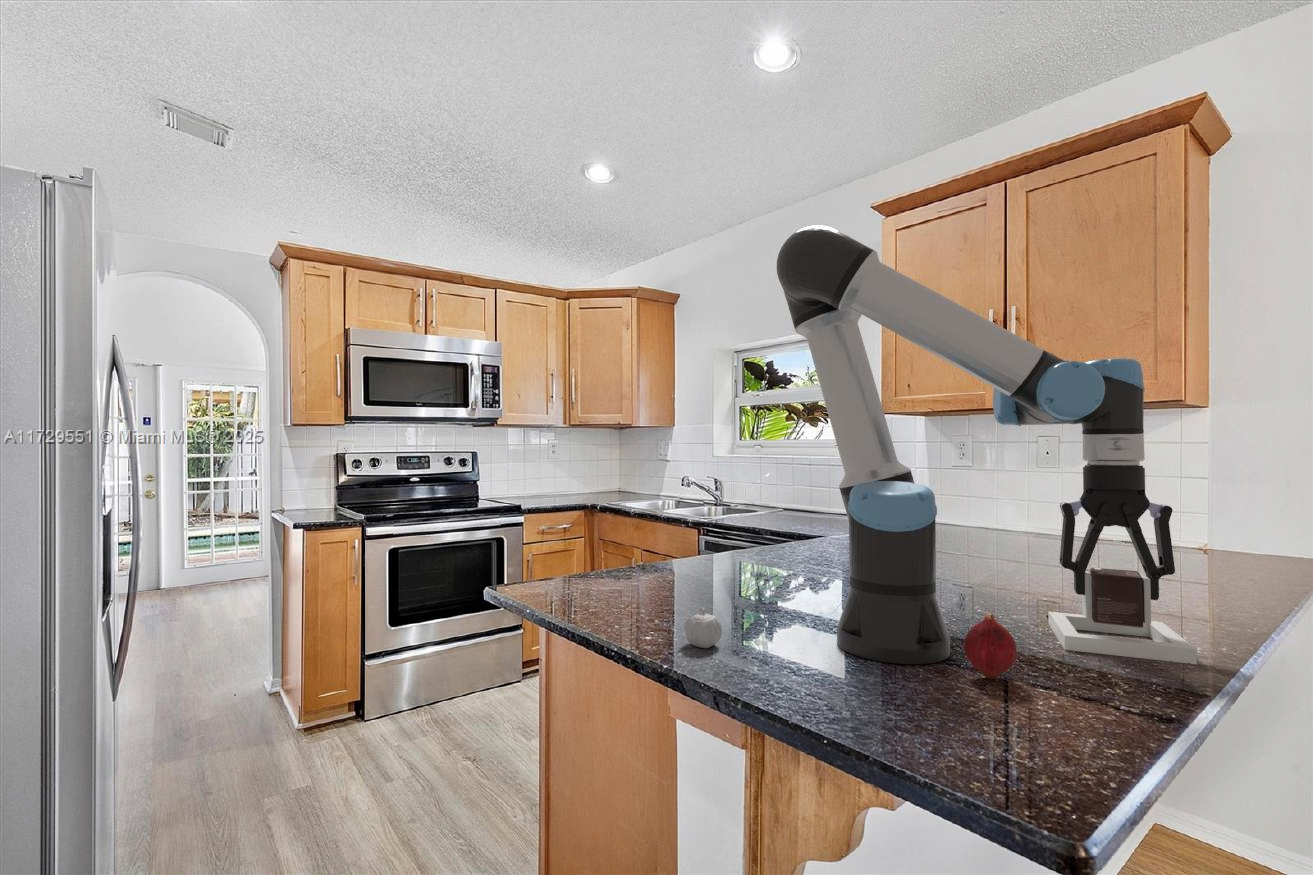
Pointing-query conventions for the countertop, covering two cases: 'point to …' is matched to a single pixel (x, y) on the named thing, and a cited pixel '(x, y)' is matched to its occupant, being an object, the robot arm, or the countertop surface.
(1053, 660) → the countertop surface
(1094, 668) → the countertop surface
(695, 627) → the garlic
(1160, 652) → the hole plate
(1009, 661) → the onion
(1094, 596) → the box
